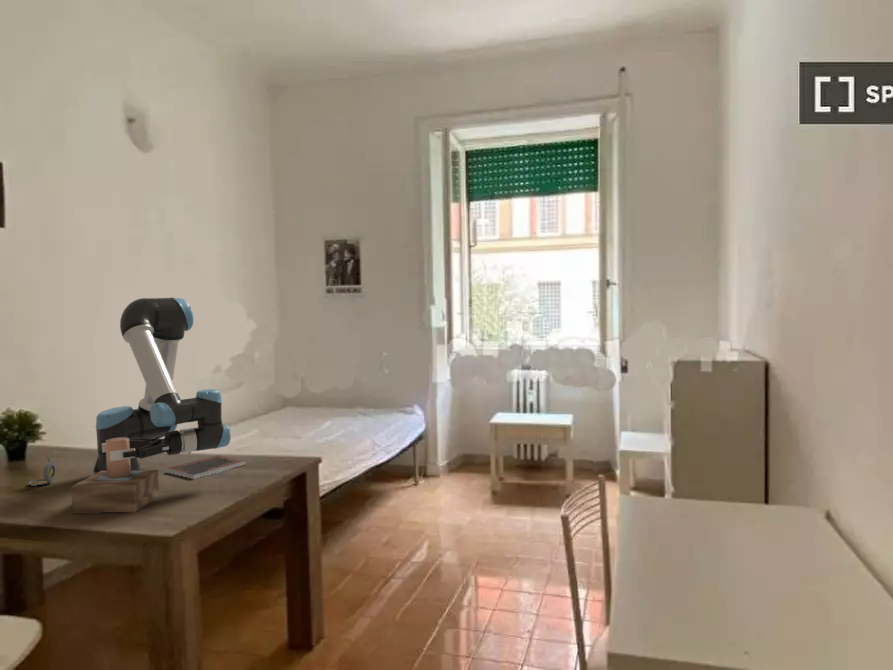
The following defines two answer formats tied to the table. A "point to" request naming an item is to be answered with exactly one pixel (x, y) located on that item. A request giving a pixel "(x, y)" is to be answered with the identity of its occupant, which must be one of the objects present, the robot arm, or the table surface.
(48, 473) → the pocket watch
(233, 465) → the picture frame
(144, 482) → the walnut box
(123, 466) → the terracotta cylinder
